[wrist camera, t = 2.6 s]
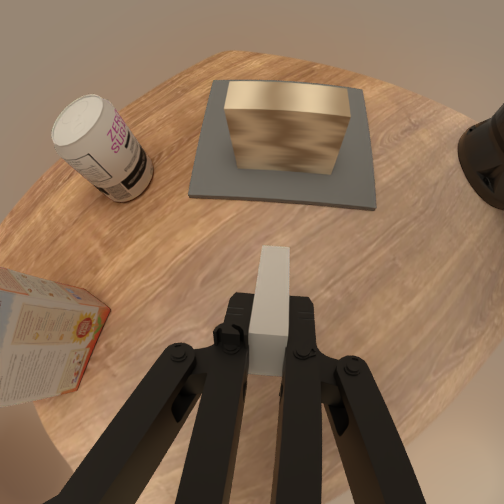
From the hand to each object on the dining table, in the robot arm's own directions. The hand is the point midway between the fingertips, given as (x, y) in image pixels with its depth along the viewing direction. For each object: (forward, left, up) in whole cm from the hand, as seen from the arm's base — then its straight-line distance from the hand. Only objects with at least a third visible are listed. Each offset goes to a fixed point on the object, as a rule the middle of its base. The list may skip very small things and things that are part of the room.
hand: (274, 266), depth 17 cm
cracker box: (+26, +9, -18) cm, 33 cm away
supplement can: (+22, -15, -18) cm, 32 cm away
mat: (0, -22, -18) cm, 28 cm away
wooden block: (0, -18, -17) cm, 24 cm away
